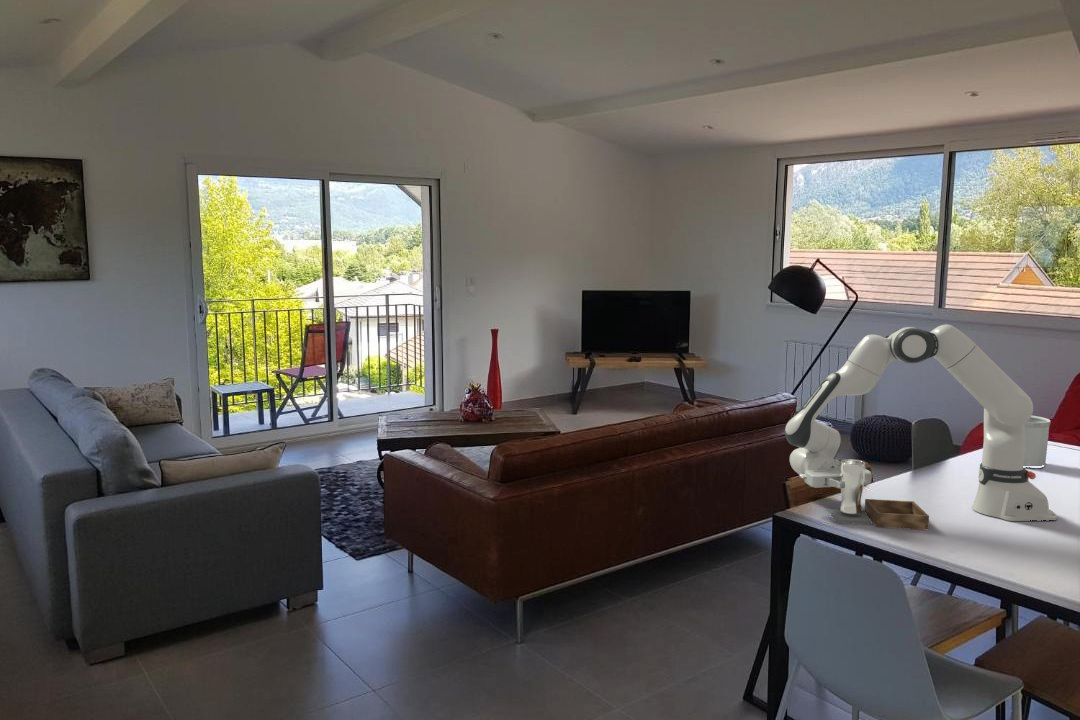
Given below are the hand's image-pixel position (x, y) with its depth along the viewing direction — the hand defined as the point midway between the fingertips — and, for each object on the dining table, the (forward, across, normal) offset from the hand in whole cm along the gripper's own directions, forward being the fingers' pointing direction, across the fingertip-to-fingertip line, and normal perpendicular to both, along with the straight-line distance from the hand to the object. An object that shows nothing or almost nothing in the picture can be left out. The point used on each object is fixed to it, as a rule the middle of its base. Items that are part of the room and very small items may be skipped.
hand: (853, 484), depth 245 cm
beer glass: (-1, 0, +8) cm, 9 cm away
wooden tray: (+4, +12, +10) cm, 16 cm away
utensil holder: (-41, +103, +11) cm, 111 cm away
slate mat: (-1, 0, +10) cm, 10 cm away
